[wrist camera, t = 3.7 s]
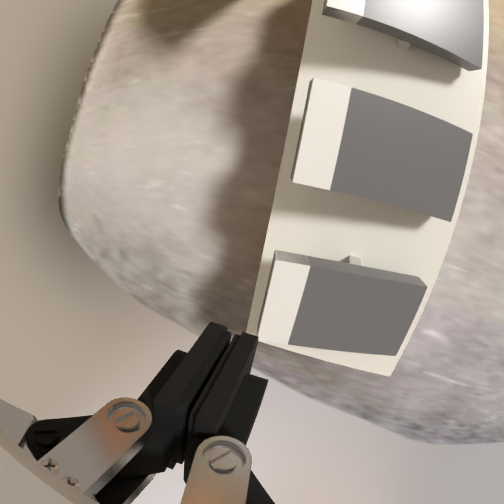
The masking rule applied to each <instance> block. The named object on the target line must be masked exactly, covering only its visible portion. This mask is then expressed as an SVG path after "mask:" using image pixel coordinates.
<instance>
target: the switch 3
mask: <svg viewBox="0 0 504 504" xmlns="http://www.w3.org/2000/svg"><path fill="white" fill-rule="evenodd" d="M426 290H427V286H426V284H425V283H424V282H423V281H422V280H421V279H420V278H419V277H418V276H413V275H407V274H402V273H397V272H392V271H386V270H381V269H376V268H370V267H365V266H360V265H355V264H349V263H344V262H339V261H333V260H328V259H322V258H317V257H312V256H307V255H302V254H296V253H291V252H285V251H280V250H275V251H274V256H273V260H272V265H271V269H270V274H269V278H268V282H267V287H266V291H265V296H264V300H263V304H262V309H261V313H260V317H259V322H258V326H257V336H258V337H259V338H258V340H260V341H266V342H272V343H279V344H286V345H295V346H302V347H310V348H318V349H326V350H335V351H344V352H354V353H364V354H375V355H387V356H396V355H397V353H398V351H399V349H400V347H401V345H402V343H403V341H404V339H405V337H406V335H407V333H408V330H409V328H410V326H411V324H412V322H413V320H414V318H415V315H416V313H417V311H418V309H419V306H420V304H421V302H422V299H423V297H424V295H425V292H426Z"/></svg>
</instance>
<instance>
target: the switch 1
mask: <svg viewBox="0 0 504 504" xmlns="http://www.w3.org/2000/svg"><path fill="white" fill-rule="evenodd" d="M322 15H324V16H328V17H332V18H336V19H339V20H343V21H347V22H350V23H353V24H357V25H360V26H364V27H367V28H370V29H373V30H376V31H379V32H381V33H384V34H387V35H390V36H392V37H395V38H398V39H400V40H403V41H405V42H408V43H410V44H413V45H415V46H417V47H420V48H422V49H424V50H427V51H429V52H431V53H433V54H435V55H438V56H440V57H442V58H444V59H446V60H448V61H450V62H452V63H454V64H456V65H458V66H460V67H462V68H464V69H465V70H467V71H474V70H479V69H482V57H483V36H484V3H483V0H324V6H323V11H322Z"/></svg>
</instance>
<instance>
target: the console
mask: <svg viewBox="0 0 504 504" xmlns="http://www.w3.org/2000/svg"><path fill="white" fill-rule="evenodd" d="M483 3H484V36H483V57H482V69H479V70H474V71H467V70H465V69H464V68H462V67H460V66H458V65H456V64H454V63H452V62H450V61H448V60H446V59H444V58H442V57H440V56H438V55H435V54H433V53H431V52H429V51H427V50H424V49H422V48H420V47H417V46H415V45H413V44H410V43H408V42H405V41H403V40H400V39H398V38H395V37H392V36H390V35H387V34H384V33H381V32H379V31H376V30H373V29H370V28H367V27H364V26H360V25H357V24H353V23H350V22H347V21H343V20H339V19H336V18H332V17H328V16H324V15H322V11H323V6H324V0H312V5H311V11H310V16H309V21H308V27H307V32H306V37H305V43H304V48H303V53H302V59H301V64H300V69H299V74H298V79H297V85H296V90H295V95H294V100H293V105H292V110H291V115H290V120H289V126H288V131H287V136H286V141H285V146H284V151H283V156H282V161H281V166H280V171H279V176H278V181H277V186H276V191H275V195H274V200H273V205H272V210H271V215H270V220H269V225H268V230H267V234H266V239H265V244H264V249H263V254H262V259H261V263H260V268H259V273H258V278H257V283H256V287H255V292H254V297H253V301H252V306H251V311H250V316H249V320H248V325H247V330H246V333H249V334H252V335H255V336H257V326H258V322H259V317H260V313H261V309H262V304H263V300H264V296H265V291H266V287H267V282H268V278H269V274H270V269H271V265H272V260H273V256H274V251H275V250H280V251H285V252H291V253H296V254H302V255H307V256H312V257H317V258H322V259H328V260H333V261H339V262H344V263H349V264H355V265H360V266H365V267H370V268H376V269H381V270H386V271H392V272H397V273H402V274H407V275H413V276H418V277H419V278H420V279H421V280H422V281H423V282H424V283H425V284H426V286H427V290H426V292H425V295H424V297H423V299H422V302H421V304H420V306H419V309H418V311H417V313H416V315H415V318H414V320H413V322H412V324H411V326H410V328H409V330H408V333H407V335H406V337H405V339H404V341H403V343H402V345H401V347H400V349H399V351H398V353H397V355H396V356H387V355H375V354H364V353H354V352H344V351H335V350H326V349H318V348H310V347H302V346H295V345H286V344H279V343H272V342H266V341H260V340H258V341H259V342H263V343H266V344H269V345H272V346H276V347H279V348H282V349H286V350H289V351H292V352H296V353H299V354H303V355H306V356H310V357H314V358H317V359H321V360H325V361H328V362H332V363H336V364H340V365H344V366H348V367H352V368H356V369H360V370H364V371H368V372H372V373H376V374H381V375H385V376H390V375H391V373H392V372H393V370H394V368H395V366H396V364H397V362H398V361H399V359H400V357H401V355H402V353H403V351H404V349H405V347H406V345H407V343H408V341H409V339H410V337H411V335H412V333H413V331H414V329H415V327H416V325H417V322H418V320H419V318H420V316H421V314H422V312H423V309H424V307H425V305H426V302H427V300H428V298H429V295H430V293H431V291H432V288H433V286H434V283H435V281H436V278H437V276H438V273H439V271H440V268H441V265H442V263H443V260H444V257H445V255H446V252H447V249H448V246H449V243H450V240H451V237H452V234H453V231H454V228H455V225H456V222H457V219H458V215H459V212H460V209H461V205H462V202H463V198H464V195H465V191H466V187H467V183H468V179H469V175H470V171H471V167H472V162H473V158H474V153H475V148H476V143H477V138H478V133H479V127H480V121H481V114H482V108H483V100H484V92H485V83H486V72H487V58H488V33H489V14H488V0H483ZM313 78H318V79H323V80H327V81H330V82H334V83H338V84H342V85H345V86H349V87H352V88H355V89H359V90H362V91H365V92H369V93H372V94H375V95H378V96H381V97H384V98H387V99H390V100H393V101H396V102H398V103H401V104H404V105H407V106H409V107H412V108H415V109H417V110H420V111H422V112H425V113H427V114H430V115H432V116H435V117H437V118H439V119H442V120H444V121H446V122H449V123H451V124H453V125H455V126H457V127H460V128H462V129H464V130H466V131H468V132H470V133H472V134H473V136H472V141H471V146H470V151H469V156H468V160H467V165H466V169H465V173H464V177H463V181H462V185H461V189H460V193H459V196H458V200H457V204H456V207H455V210H454V214H453V217H452V220H451V222H448V221H445V220H442V219H438V218H435V217H431V216H428V215H425V214H421V213H418V212H414V211H410V210H407V209H403V208H399V207H396V206H392V205H388V204H384V203H381V202H377V201H373V200H369V199H365V198H361V197H357V196H352V195H348V194H344V193H340V192H335V191H331V190H326V189H322V188H317V187H313V186H308V185H303V184H299V183H294V182H292V180H291V178H290V177H291V172H292V167H293V162H294V158H295V153H296V148H297V143H298V138H299V133H300V128H301V123H302V118H303V113H304V108H305V103H306V98H307V92H308V87H309V82H310V81H311V80H312V79H313Z"/></svg>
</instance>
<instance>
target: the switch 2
mask: <svg viewBox="0 0 504 504" xmlns="http://www.w3.org/2000/svg"><path fill="white" fill-rule="evenodd" d="M472 136H473V134H472V133H470V132H468V131H466V130H464V129H462V128H460V127H457V126H455V125H453V124H451V123H449V122H446V121H444V120H442V119H439V118H437V117H435V116H432V115H430V114H427V113H425V112H422V111H420V110H417V109H415V108H412V107H409V106H407V105H404V104H401V103H398V102H396V101H393V100H390V99H387V98H384V97H381V96H378V95H375V94H372V93H369V92H365V91H362V90H359V89H355V88H352V87H349V86H345V85H342V84H338V83H334V82H330V81H327V80H323V79H318V78H313V79H312V80H311V81H310V82H309V87H308V92H307V98H306V103H305V108H304V113H303V118H302V123H301V128H300V133H299V138H298V143H297V148H296V153H295V158H294V162H293V167H292V172H291V177H290V178H291V180H292V182H294V183H299V184H303V185H308V186H313V187H317V188H322V189H326V190H331V191H335V192H340V193H344V194H348V195H352V196H357V197H361V198H365V199H369V200H373V201H377V202H381V203H384V204H388V205H392V206H396V207H399V208H403V209H407V210H410V211H414V212H418V213H421V214H425V215H428V216H431V217H435V218H438V219H442V220H445V221H448V222H451V220H452V217H453V214H454V210H455V207H456V204H457V200H458V196H459V193H460V189H461V185H462V181H463V177H464V173H465V169H466V165H467V160H468V156H469V151H470V146H471V141H472Z"/></svg>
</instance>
